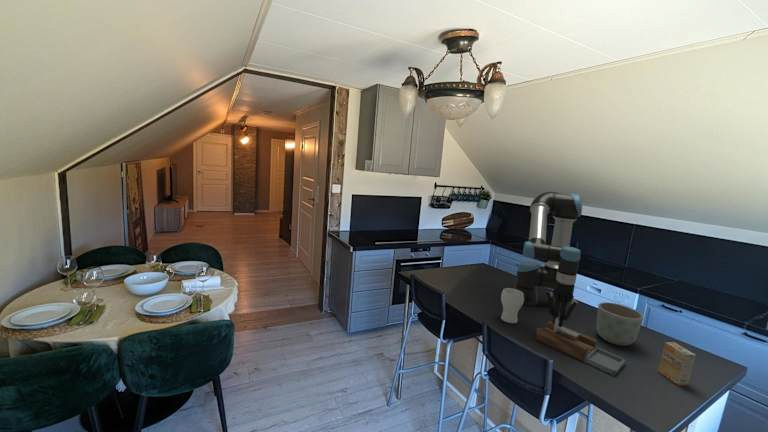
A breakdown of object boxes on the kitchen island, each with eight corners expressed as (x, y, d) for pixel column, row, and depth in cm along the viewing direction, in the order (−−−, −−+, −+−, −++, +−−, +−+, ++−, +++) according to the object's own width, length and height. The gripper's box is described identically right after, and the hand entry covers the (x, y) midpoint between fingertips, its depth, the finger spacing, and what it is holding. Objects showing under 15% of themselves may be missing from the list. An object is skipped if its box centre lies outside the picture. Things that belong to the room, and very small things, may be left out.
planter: (628, 336, 158) (634, 306, 155) (643, 354, 142) (650, 322, 139) (588, 328, 163) (594, 299, 160) (598, 345, 147) (604, 313, 144)
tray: (595, 351, 141) (596, 346, 141) (624, 364, 133) (625, 359, 133) (583, 362, 132) (584, 357, 132) (614, 376, 124) (615, 371, 124)
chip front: (568, 338, 145) (570, 330, 144) (578, 342, 142) (580, 334, 141) (564, 341, 142) (566, 332, 142) (574, 345, 139) (576, 336, 139)
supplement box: (657, 371, 130) (664, 341, 128) (668, 371, 130) (675, 341, 128) (677, 385, 122) (685, 354, 120) (688, 386, 122) (696, 354, 120)
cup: (522, 326, 159) (526, 297, 156) (499, 322, 161) (503, 294, 158) (518, 316, 169) (522, 289, 167) (496, 313, 171) (500, 286, 169)
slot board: (547, 331, 156) (549, 320, 155) (594, 351, 141) (597, 340, 140) (535, 339, 148) (537, 328, 147) (583, 361, 133) (586, 349, 132)
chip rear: (559, 334, 148) (560, 326, 147) (568, 338, 145) (570, 330, 144) (555, 336, 145) (556, 328, 144) (564, 341, 142) (566, 332, 141)
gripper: (546, 278, 145) (537, 327, 149) (577, 288, 135) (568, 341, 139) (553, 276, 150) (545, 323, 154) (584, 285, 140) (574, 336, 144)
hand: (556, 331), depth 147 cm, fingers closed
